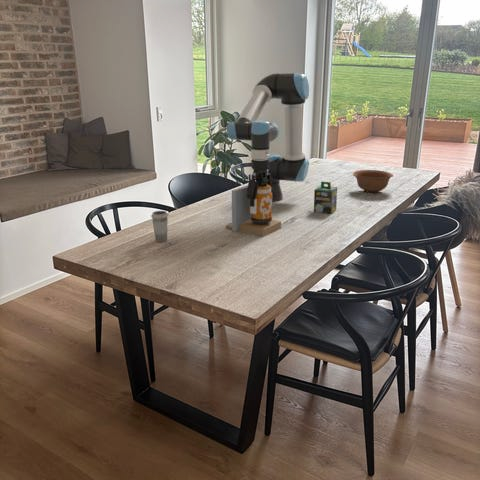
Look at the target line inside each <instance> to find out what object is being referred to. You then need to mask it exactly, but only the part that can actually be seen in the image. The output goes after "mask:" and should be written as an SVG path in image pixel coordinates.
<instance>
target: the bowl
mask: <svg viewBox="0 0 480 480" xmlns="http://www.w3.org/2000/svg"><path fill="white" fill-rule="evenodd" d="M352 175H353V177H355V179H356V182H357V186H358V187H359V189H361V190H363V193H364V194H367V195H378V194H380V192H381V191H383V190H385V189H386V188H387V186H388V185H389V181H390V179H391V178H393V177H394V174H393V173H391V172H388V171H385V170H377V169H359V170H356V171H354V172H352Z"/></svg>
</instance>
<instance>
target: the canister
mask: <svg viewBox="0 0 480 480" xmlns="http://www.w3.org/2000/svg"><path fill="white" fill-rule="evenodd" d="M267 182H269V180H268V178H265V177H263V178H261V183H260V184H259V187H258V188H257V194H256V198H255V199H257V214H252V213H251V221H253V222H255V223H259V224H265V223H268V222H271V221H272V220H273V201H272V192H271V186H270V185H267Z"/></svg>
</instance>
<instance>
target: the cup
mask: <svg viewBox="0 0 480 480" xmlns="http://www.w3.org/2000/svg"><path fill="white" fill-rule="evenodd" d="M150 217H151V218H152V226H153V232H154V233H153V234H154V239H155V242H156V243H166V242H167V241H168V223H169V222H168V217H169V214H168V211H166V210H155V211H153V212H152V214H150Z"/></svg>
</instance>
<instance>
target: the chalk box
mask: <svg viewBox="0 0 480 480" xmlns="http://www.w3.org/2000/svg"><path fill="white" fill-rule="evenodd" d="M337 194H338V187H337V186H332V185H331V182H330V181H329V182H327V181H321V183H320V185H319V186H317V187H316V188H315V189H314V195H313V198H314V199H313V212H314V213H321V214H327V215H328V214H329V215H331V214H333V213H334V212H335V211H336V210H337V205H338V204H337V200H338V195H337Z"/></svg>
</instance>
